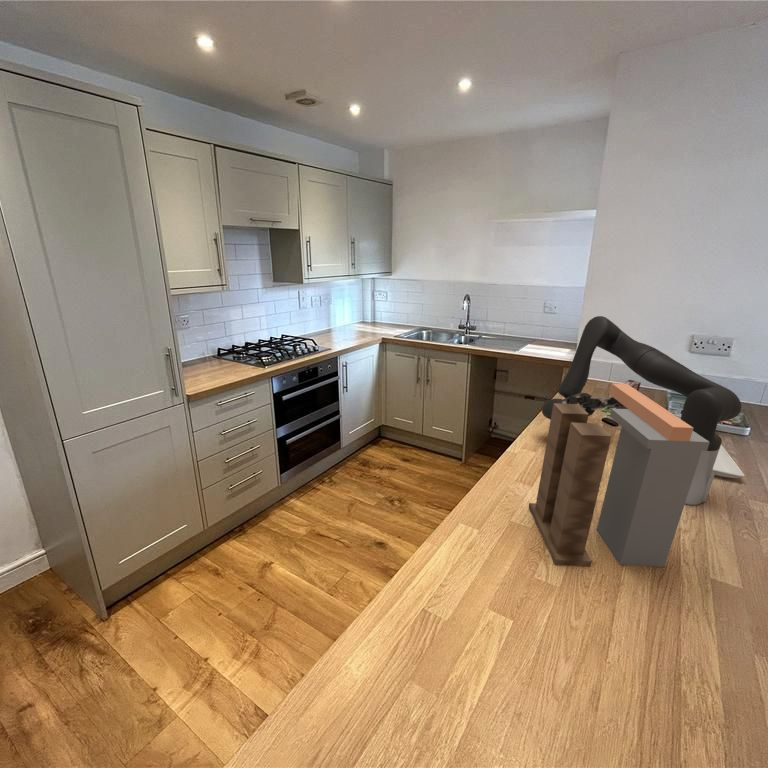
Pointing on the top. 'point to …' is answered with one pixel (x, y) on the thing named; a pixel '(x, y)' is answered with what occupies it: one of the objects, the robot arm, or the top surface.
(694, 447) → the pedestal
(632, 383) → the supplement box
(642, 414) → the beam
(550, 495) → the gate
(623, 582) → the top surface
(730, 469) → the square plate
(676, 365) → the robot arm
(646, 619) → the top surface
